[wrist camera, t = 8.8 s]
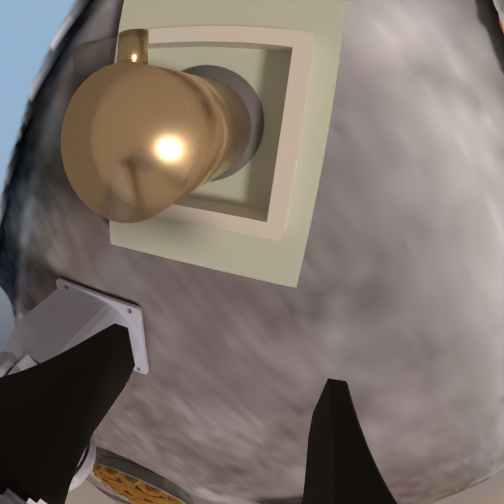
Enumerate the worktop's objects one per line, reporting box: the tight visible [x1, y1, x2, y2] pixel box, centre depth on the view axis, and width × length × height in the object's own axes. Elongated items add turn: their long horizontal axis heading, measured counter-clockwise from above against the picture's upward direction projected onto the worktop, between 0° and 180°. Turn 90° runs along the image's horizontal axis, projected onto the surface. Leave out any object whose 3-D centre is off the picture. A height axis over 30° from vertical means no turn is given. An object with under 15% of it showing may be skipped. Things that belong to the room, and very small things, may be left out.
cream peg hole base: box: [74, 0, 346, 288], centre depth 15 cm, size 15×16×4 cm
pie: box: [93, 458, 193, 504], centre depth 43 cm, size 22×22×5 cm
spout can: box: [61, 29, 251, 223], centre depth 11 cm, size 5×6×7 cm
